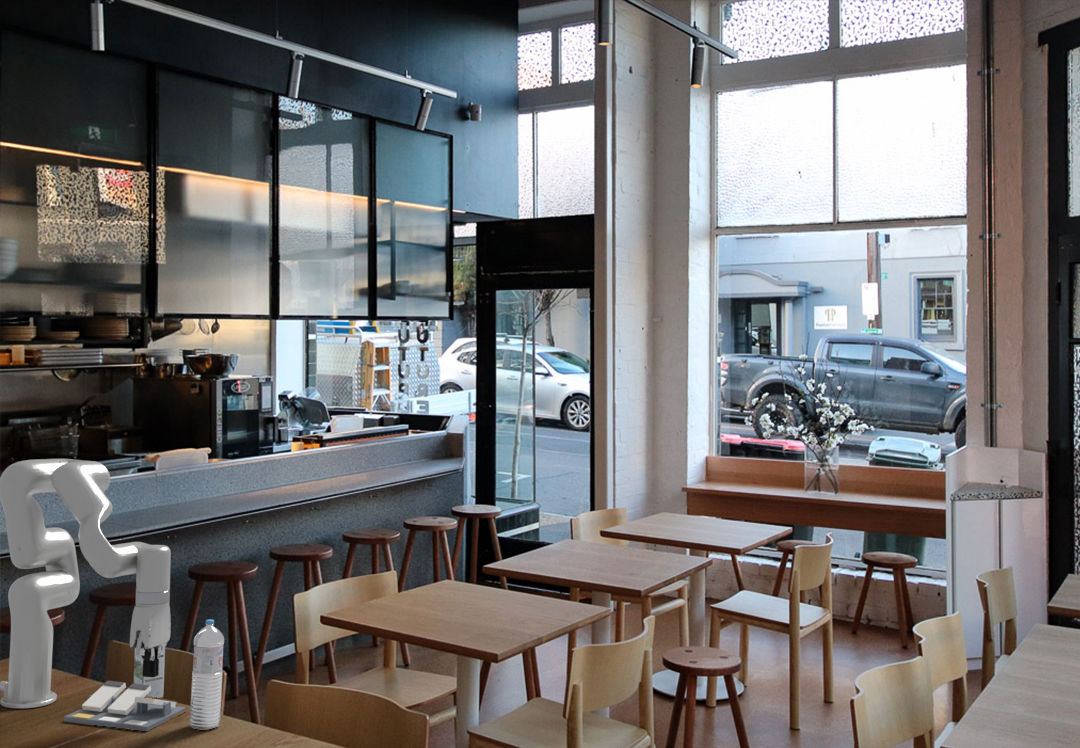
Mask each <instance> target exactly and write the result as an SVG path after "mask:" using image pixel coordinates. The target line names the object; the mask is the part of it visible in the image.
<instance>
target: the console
mask: <svg viewBox="0 0 1080 748" xmlns="http://www.w3.org/2000/svg"><path fill="white" fill-rule="evenodd" d="M93 694H94V693H93ZM93 694H90V695H88V699H89V698H90V697H91V696H92V695H93ZM120 696H121V695H118V696H116V697H114V698H112V699H111V702H110V703H109V704H108V705H107V706H106V707H105V708H104V709H103V710H102V711H101V712H99V711H91V710H83V708H81V709H78V710H77V711H74V712H72V713H71V712H70V714H67V715H64V718H63V719H64V720H63V721H64V722H65V723H72V724H73V723H74V724H80V725H86V726H87V725H88V726H94V725H97V726H96V727H102V726H106V727H105V728H110V727H116V728H115V729H118V728H129V729H135V730H142V731H148V730H149V729H151V728H154V727H155V726H157V725H159V724H161V723H163V722H165V721H166V720H168V719H170V718H171V717H172V716H174V715H176V714H178V713H180V712H182V711H183V710H185V709H186V710H187V707H186V706H175V707H171V702H168V703H166V704H164V705H163V706H158V705H151V704H145V703H138V702H137V705H136V706H135V707H134V708H133V709H132V710H131V711H130V712H129V713H128V714H127V715H123V714H115V713H108V707H109V706H110V705H112V704H113V703H114V702H115V701H116V700H117V699H118V698H119V697H120ZM154 729H155V728H154ZM148 732H149V731H148Z"/></svg>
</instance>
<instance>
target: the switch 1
mask: <svg viewBox="0 0 1080 748" xmlns="http://www.w3.org/2000/svg"><path fill="white" fill-rule="evenodd" d="M126 688H127V685H126V682H124V681H115V680H107V681H106V682H104V683H103V685H102V686H101V687H99V688H98V690H96V691H95V692H94V693H93V695H92V694H91V695H92V696H91V697H90V698H89V697H88V699H87V700H86V701H84V702H83V703H82V705H81V707H82V708H81V709H83V710H91V711H99V712H101V711H102V710H103V709H104V708H105V707H106V706H107V705H108V704H109V703H110V702H111V699H112V698H114V697H116V696H120V695H121V694H122V692H124V691H125V690H126Z"/></svg>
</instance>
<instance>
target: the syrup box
mask: <svg viewBox="0 0 1080 748" xmlns="http://www.w3.org/2000/svg"><path fill="white" fill-rule="evenodd" d="M135 652H136V648H134V657H133V658H134V660H133V662H134V663H133V664H134V665H133V683H132V684H142V685H149V686H151V691H150V692H149V693H148V694H147V696H152V697H157V699H160V698H164V688H165V687H164V686H165V684H164V683H165V655H166V646H165V647H164V648H163V649H162V650H161V656H160V658H158V659H159V675H158V676H155V677H143V660H142V658H141V655H136V654H135Z"/></svg>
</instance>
